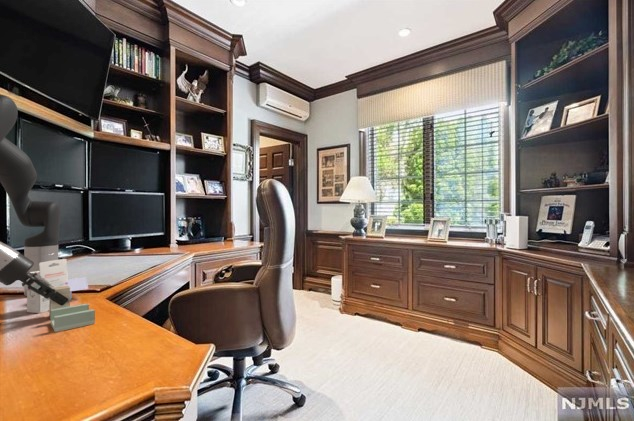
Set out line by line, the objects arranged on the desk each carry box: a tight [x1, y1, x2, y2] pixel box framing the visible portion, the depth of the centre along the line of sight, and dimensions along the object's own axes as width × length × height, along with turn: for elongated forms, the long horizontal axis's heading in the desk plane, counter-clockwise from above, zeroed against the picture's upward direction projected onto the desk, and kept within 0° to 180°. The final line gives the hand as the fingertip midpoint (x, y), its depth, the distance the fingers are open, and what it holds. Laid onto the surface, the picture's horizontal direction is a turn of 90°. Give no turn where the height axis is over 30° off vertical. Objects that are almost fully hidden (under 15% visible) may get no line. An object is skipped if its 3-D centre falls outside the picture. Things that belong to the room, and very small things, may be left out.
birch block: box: [48, 285, 71, 317], centre depth 87 cm, size 4×4×8 cm
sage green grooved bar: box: [49, 302, 96, 333], centre depth 81 cm, size 9×8×4 cm
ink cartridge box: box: [26, 258, 69, 314], centre depth 94 cm, size 9×5×15 cm, turn 168°
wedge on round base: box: [68, 276, 89, 301], centre depth 104 cm, size 9×7×13 cm
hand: (64, 300), depth 88 cm, fingers closed on birch block, 4 cm apart
